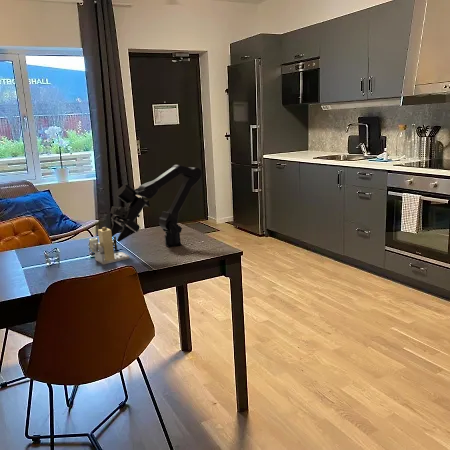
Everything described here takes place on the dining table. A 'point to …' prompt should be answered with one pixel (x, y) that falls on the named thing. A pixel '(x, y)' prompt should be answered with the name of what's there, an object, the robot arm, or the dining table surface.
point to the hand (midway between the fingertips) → (113, 239)
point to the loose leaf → (106, 242)
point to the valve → (95, 240)
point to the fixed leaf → (101, 257)
